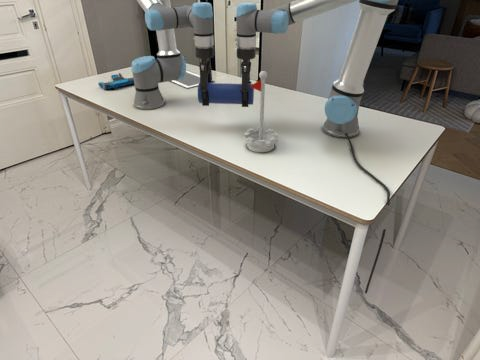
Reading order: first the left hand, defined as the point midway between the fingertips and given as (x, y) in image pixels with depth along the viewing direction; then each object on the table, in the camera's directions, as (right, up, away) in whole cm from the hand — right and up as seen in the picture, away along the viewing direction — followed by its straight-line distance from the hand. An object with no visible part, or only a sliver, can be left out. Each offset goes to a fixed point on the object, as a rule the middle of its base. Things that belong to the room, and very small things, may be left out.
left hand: (207, 101), depth 147 cm
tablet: (-20, +30, +68) cm, 77 cm away
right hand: (+17, -1, -1) cm, 17 cm away
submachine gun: (-56, +27, +64) cm, 89 cm away
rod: (+8, -1, 0) cm, 8 cm away
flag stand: (+22, -20, -9) cm, 32 cm away
